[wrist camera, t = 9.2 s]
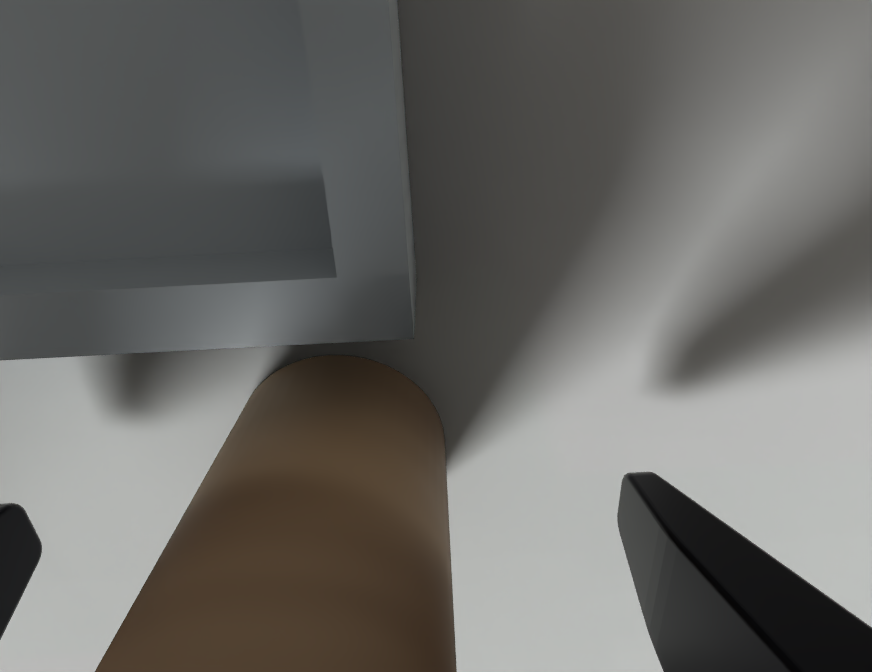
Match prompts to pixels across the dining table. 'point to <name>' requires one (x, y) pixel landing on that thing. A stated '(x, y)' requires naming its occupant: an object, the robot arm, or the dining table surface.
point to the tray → (202, 176)
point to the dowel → (309, 537)
